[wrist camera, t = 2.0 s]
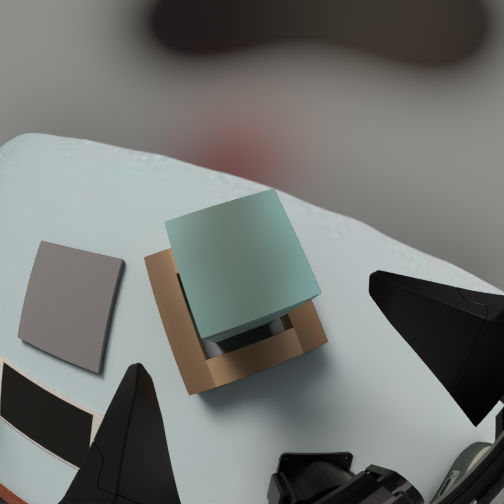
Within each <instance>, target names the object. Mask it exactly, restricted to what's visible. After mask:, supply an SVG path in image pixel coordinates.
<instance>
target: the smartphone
mask: <svg viewBox="0 0 504 504" xmlns="http://www.w3.org/2000/svg"><path fill="white" fill-rule="evenodd" d="M0 418H2V419H3V420H4V421H5V422H7V423H8V424H9V425H10V426H12V427H13V428H14V429H15V430H17V431H18V432H19V433H21V434H22V435H24V436H25V437H26V438H28V439H29V440H31V441H32V442H34V443H35V444H36V445H38V446H39V447H41V448H43V449H44V450H46V451H47V452H49V453H50V454H52V455H54V456H55V457H57V458H59V459H60V460H62V461H64V462H66V463H67V464H69V465H71V466H73V467H75V468H77V469H80V467H81V465H82V463H83V461H84V459H85V457H86V455H87V453H88V450H89V448H90V446H91V444H92V442H93V441H94V440H93V439H94V437H95V435H96V433H97V431H98V428H99V426H100V424H101V422H102V420H103V418H104V415H102V414H100V413H97V412H95V411H93V410H91V409H89V408H87V407H85V406H83V405H81V404H79V403H77V402H75V401H73V400H71V399H69V398H67V397H65V396H63V395H62V394H60V393H58V392H56V391H54V390H53V389H51V388H49V387H47V386H46V385H44V384H42V383H41V382H39V381H38V380H36V379H34V378H33V377H31V376H30V375H28V374H27V373H25V372H24V371H22V370H21V369H19V368H18V367H16V366H15V365H13V364H12V363H11V362H9V361H8V360H6V359H5V358H4V357H2V356H1V355H0Z"/></svg>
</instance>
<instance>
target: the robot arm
mask: <svg viewBox="0 0 504 504" xmlns="http://www.w3.org/2000/svg"><path fill="white" fill-rule="evenodd" d="M369 294H370V296H371V297H372V299H373V300H374V302H375V303H376V304H377V306H378V307H379V308H380V310H381V311H382V313H383V314H384V315H385V317H386V318H387V319H388V321H389V322H390V323H391V325H392V326H393V327H394V328H395V329H396V330H397V331H398V333H399V334H400V335H401V336H402V337H403V338H404V339H405V341H406V342H407V343H408V344H409V345H410V346H411V348H412V349H413V350H414V351H415V352H416V353H417V355H418V356H419V357H420V358H421V359H422V360H423V362H424V363H425V364H426V365H427V366H428V368H429V369H430V370H431V371H432V372H433V374H434V375H435V376H436V377H437V379H438V380H439V381H440V382H441V383H442V385H443V386H444V387H445V388H446V390H447V391H448V392H449V394H450V395H451V396H452V397H453V399H454V400H455V401H456V403H457V404H458V405H459V406H460V408H461V409H462V410H463V412H464V413H465V414H466V416H467V417H468V418H469V420H470V421H471V422H472V424H473V425H474V426H475V427H477V425H478V424H479V423H480V422H481V421H482V420H483V419H484V418H485V417H486V416H487V414H488V413H489V412H490V411H491V410H492V409H493V407H494V406H495V405H496V404H497V402H498V401H499V400H500V401H501V402H502V403H503V404H504V295H497V294H490V293H484V292H477V291H472V290H467V289H462V288H458V287H453V286H449V285H444V284H440V283H435V282H431V281H426V280H422V279H417V278H413V277H408V276H404V275H399V274H394V273H390V272H385V271H381V270H378V271H375V272H373V273H371V274H370V277H369ZM93 440H94V441H93V442H92V444H91V446H90V448H89V450H88V453H87V455H86V457H85V459H84V461H83V463H82V465H81V467H80V469H79V470H78V472H77V474H76V476H75V478H74V479H73V481H72V483H71V485H70V487H69V489H68V490H67V492H66V494H65V496H64V497H63V499H62V500H61V501H60V502H59V503H58V504H181V502H180V499H179V495H178V491H177V487H176V483H175V479H174V475H173V470H172V466H171V461H170V456H169V451H168V446H167V441H166V435H165V430H164V424H163V418H162V414H161V411H160V407H159V403H158V400H157V396H156V392H155V388H154V384H153V381H152V378H151V376H150V375H149V374H148V372H147V371H146V369H145V368H144V367H143V365H142V364H141V363H136V364H132V365H130V366H129V367H128V369H127V371H126V373H125V375H124V377H123V379H122V381H121V383H120V385H119V387H118V389H117V391H116V393H115V395H114V397H113V399H112V401H111V403H110V405H109V407H108V409H107V411H106V414H105V416H104V418H103V420H102V422H101V424H100V426H99V428H98V431H97V433H96V435H95V437H94V439H93ZM346 456H348V458H347V459H345V457H346ZM285 457H289V458H288V459H287V460H284V458H285ZM352 458H353V455H352V454H351V453H350V452H336V453H283V454H282V455H281V456H280V458H279V463H278V467H277V472H276V473H274V474H273V475H272V477H271V481H270V485H269V490H268V494H267V498H268V501H269V504H424V499H423V497H422V496H421V494H420V493H419V492H418V490H417V489H416V488H415V487H414V486H413V485H412V484H411V483H410V482H409V481H408V480H406V479H405V478H404V477H403V476H401V475H400V474H398V473H397V472H395V471H393V470H390V469H386V468H383V467H379V466H376V465H373V464H371V465H370V466H368V467H367V468H366V470H365V471H361V472H360V473H359V474H357V475H355V474H354V473H353V472H351V471H350V466H351V462H352ZM474 499H475V500H476V501H477V503H476V504H504V407H503V408H502V409H501V411H500V412H499V413H498V414H497V416H496V434H495V442H494V443H493V444H492V446H491V447H490V448H489V449H488V450H487V451H486V452H485V454H484V455H483V456H482V457H481V458H480V459H479V460H478V461H477V462H476V463H475V464H474V465H473V466H472V467H471V468H470V469H469V470H468V471H467V472H466V473H465V474H464V475H463V476H462V477H461V478H460V479H459V480H458V481H457V482H456V483H455V484H454V485H453V486H452V487H450V488H449V489H448V490H447V491H446V492H445V493H444V494H442V495H441V496H440V497H439V498H438V499H436V500H435V501H434V502H433V503H431V504H470V503H471V502H472V501H473V500H474Z"/></svg>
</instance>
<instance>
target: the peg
mask: <svg viewBox="0 0 504 504" xmlns="http://www.w3.org/2000/svg"><path fill="white" fill-rule="evenodd" d="M165 226H166V230H167V233H168V237H169V240H170V244H171V247H172V251H173V254H174V258H175V261H176V264H177V268H178V271H179V274H180V277H181V280H182V283H183V287H184V290H185V293H186V296H187V299H188V302H189V305H190V308H191V311H192V314H193V317H194V319H195V322H196V325H197V328H198V331H199V333H200V336H201V339H204V340H208V341H211V342H215V343H217V342H220V341H223V340H226V339H228V338H231V337H234V336H237V335H240V334H242V333H245V332H248V331H250V330H253V329H256V328H258V327H261V326H264V325H266V324H269V323H271V322H273V321H274V320H276V319H278V318H280V317H282V316H283V315H285V314H287V313H289V312H290V311H292V310H294V309H296V308H297V307H299V306H301V305H302V304H304V303H306V302H308V301H309V300H311V299H313V298H314V297H316V296H318V295H319V294H321V293H322V292H321V290H320V288H319V285H318V283H317V281H316V278H315V276H314V274H313V272H312V269H311V267H310V265H309V262H308V260H307V258H306V256H305V253H304V251H303V249H302V247H301V245H300V242H299V240H298V238H297V236H296V234H295V231H294V229H293V227H292V225H291V223H290V221H289V218H288V216H287V214H286V212H285V210H284V208H283V206H282V204H281V202H280V199H279V197H278V195H277V193H276V191H275V189H270V190H267V191H263V192H260V193H256V194H253V195H249V196H246V197H242V198H239V199H235V200H232V201H229V202H225V203H222V204H219V205H215V206H212V207H209V208H206V209H202V210H199V211H196V212H193V213H190V214H187V215H184V216H181V217H177V218H174V219H171V220H168V221H165Z"/></svg>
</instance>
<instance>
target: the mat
mask: <svg viewBox="0 0 504 504" xmlns="http://www.w3.org/2000/svg"><path fill="white" fill-rule="evenodd" d="M123 265H124V260H123V259H119V258H114V257H110V256H105V255H101V254H96V253H92V252H87V251H83V250H79V249H74V248H70V247H66V246H62V245H58V244H53V243H49V242H45V241H41V243H40V246H39V249H38V252H37V255H36V258H35V262H34V265H33V268H32V272H31V276H30V279H29V283H28V287H27V291H26V296H25V300H24V305H23V309H22V314H21V320H20V325H19V332H18V338H20V339H22V340H24V341H25V342H27V343H29V344H31V345H33V346H35V347H37V348H39V349H41V350H44V351H46V352H48V353H50V354H52V355H54V356H57V357H59V358H61V359H63V360H66V361H68V362H70V363H73V364H75V365H78V366H80V367H83V368H85V369H88V370H90V371H93V372H96V373H101V370H102V363H103V356H104V350H105V345H106V339H107V334H108V329H109V324H110V319H111V314H112V309H113V305H114V301H115V296H116V292H117V288H118V284H119V280H120V276H121V272H122V269H123Z"/></svg>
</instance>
